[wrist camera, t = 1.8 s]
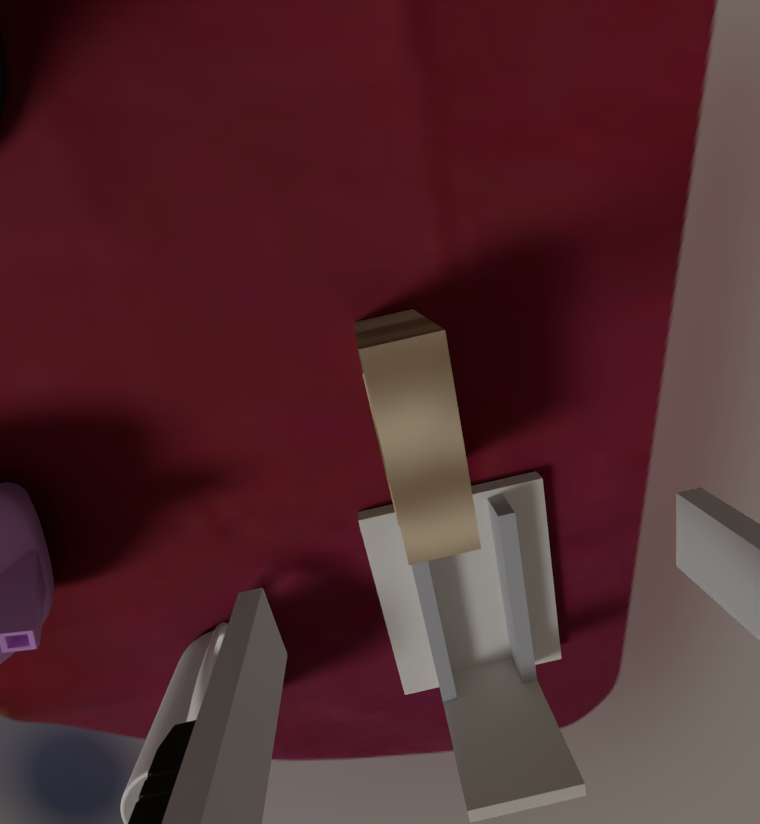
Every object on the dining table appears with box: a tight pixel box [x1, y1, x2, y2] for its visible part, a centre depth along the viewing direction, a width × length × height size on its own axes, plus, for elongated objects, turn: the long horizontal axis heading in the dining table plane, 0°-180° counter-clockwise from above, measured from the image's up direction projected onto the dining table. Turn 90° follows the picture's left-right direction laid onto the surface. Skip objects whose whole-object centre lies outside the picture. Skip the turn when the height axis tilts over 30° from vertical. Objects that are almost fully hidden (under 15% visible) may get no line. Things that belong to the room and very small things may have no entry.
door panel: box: [354, 309, 481, 565], centre depth 27 cm, size 12×4×10 cm, turn 12°
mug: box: [121, 622, 228, 824], centre depth 32 cm, size 9×12×11 cm
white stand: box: [358, 471, 586, 822], centre depth 31 cm, size 18×14×11 cm
